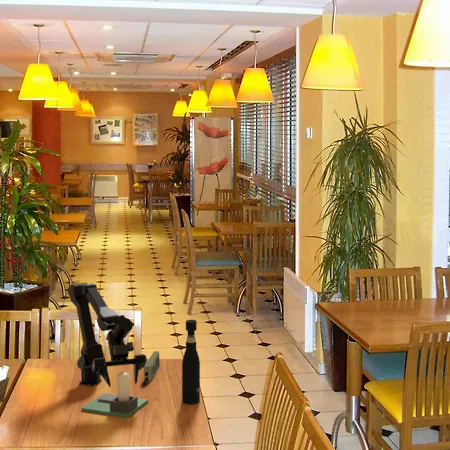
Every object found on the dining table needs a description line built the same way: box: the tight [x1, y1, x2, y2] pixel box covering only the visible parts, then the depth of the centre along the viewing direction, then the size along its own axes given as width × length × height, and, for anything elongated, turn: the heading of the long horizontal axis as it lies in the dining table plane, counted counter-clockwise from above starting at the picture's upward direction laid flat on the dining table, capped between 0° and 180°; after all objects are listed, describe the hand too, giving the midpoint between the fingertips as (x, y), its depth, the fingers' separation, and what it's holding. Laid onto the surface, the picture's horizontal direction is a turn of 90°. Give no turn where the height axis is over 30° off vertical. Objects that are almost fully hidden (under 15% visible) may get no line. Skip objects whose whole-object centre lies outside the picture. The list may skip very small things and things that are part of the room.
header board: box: [80, 392, 149, 419], centre depth 271 cm, size 18×16×4 cm
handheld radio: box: [142, 350, 161, 386], centre depth 304 cm, size 7×3×25 cm
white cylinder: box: [117, 371, 130, 403], centre depth 266 cm, size 4×4×12 cm
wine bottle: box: [181, 319, 201, 406], centre depth 275 cm, size 6×6×30 cm
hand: (123, 384), depth 266 cm, fingers open, 9 cm apart
